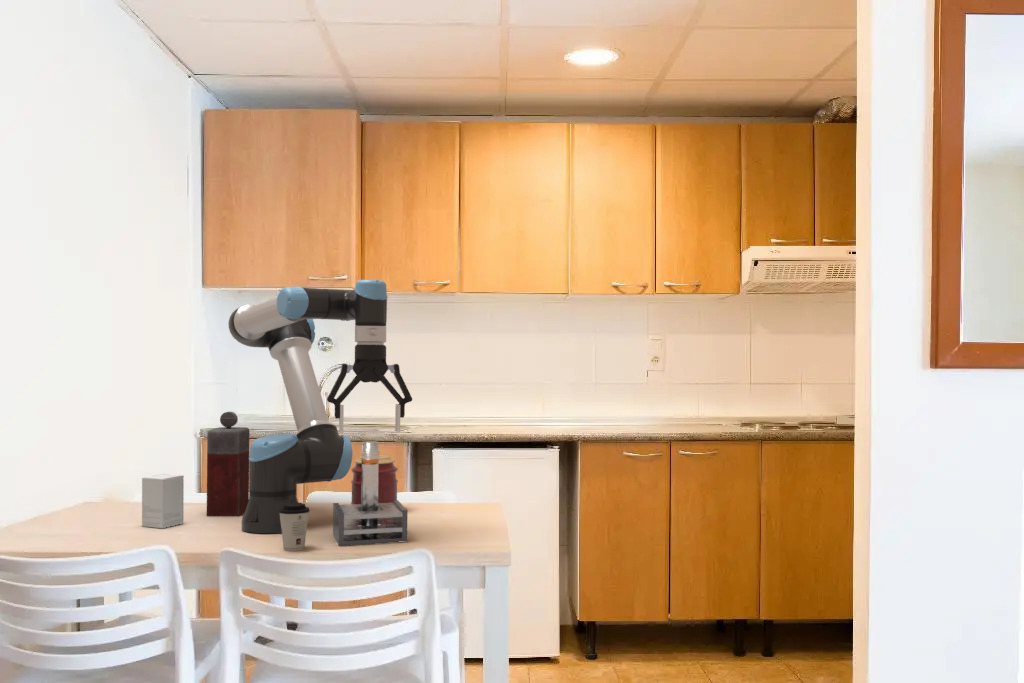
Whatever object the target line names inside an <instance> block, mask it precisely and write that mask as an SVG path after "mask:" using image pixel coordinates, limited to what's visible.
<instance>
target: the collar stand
mask: <svg viewBox="0 0 1024 683" xmlns="http://www.w3.org/2000/svg"><path fill="white" fill-rule="evenodd" d="M332 504H333V505H332V535H333V537H334V539H335V542H336V543H337V546H338V547H345V546H346V547H347V546H361V545H376V544H375V543H382V544H389V543H388V542H399V541H407V542H408V512H409V511H408V509H407V508H406V506H404V505H403V504H402V503H401V502H400V501H399V500H398V499H397V500H395V501H393V503H378V510H380V511H361V504H351V503H350V504H339V502H333V503H332ZM368 518H378V525H374V526H361V519H368ZM369 533H378V534H376V535H362V534H369ZM399 543H400V542H399Z"/></svg>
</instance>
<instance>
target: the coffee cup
mask: <svg viewBox="0 0 1024 683" xmlns="http://www.w3.org/2000/svg"><path fill="white" fill-rule="evenodd" d="M310 511H311V510H310V508H309V507H308V506H306V504H305V503H303V502H299V503H288V504H284V506H283V508H280V510H279V513H280V521H281V530H282V533H281V538H282V546H283V550H284V551H288V552H297V551H301V550H304V549H305V543H306V538H307V537H306V536H307V528H308V522H309V513H310Z"/></svg>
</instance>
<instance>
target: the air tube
mask: <svg viewBox="0 0 1024 683" xmlns="http://www.w3.org/2000/svg"><path fill="white" fill-rule="evenodd" d="M379 445H380V443H379V441H374V440H373V441H372V440H371V441H362V442H361V456H362V486H361V511H378V464H379V455H380V450H379V448H380V446H379ZM374 525H379V524H378V518H368V519H361V525H360V526H374ZM376 534H378V533H369V534H362V535H376Z"/></svg>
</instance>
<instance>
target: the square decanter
mask: <svg viewBox="0 0 1024 683" xmlns="http://www.w3.org/2000/svg"><path fill="white" fill-rule="evenodd" d="M219 421H220V424H221V425H222V426H219V427H214V428H211V429H209V430H208V431H207V434H206V436H207V437H206V438H207V439H206V441H207V442H206V443H207V444H206V517H241V516H243V515H244V513H245V510H246V507H247V504H248V501H249V456H250V428H248V427H243V426H242V427H241V426H239V427H237V426H236V425H237V423H238V415H237V414H236V412H233V411H225V412H223V413H222V414H221V415H220V417H219ZM235 426H236V427H235Z"/></svg>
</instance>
